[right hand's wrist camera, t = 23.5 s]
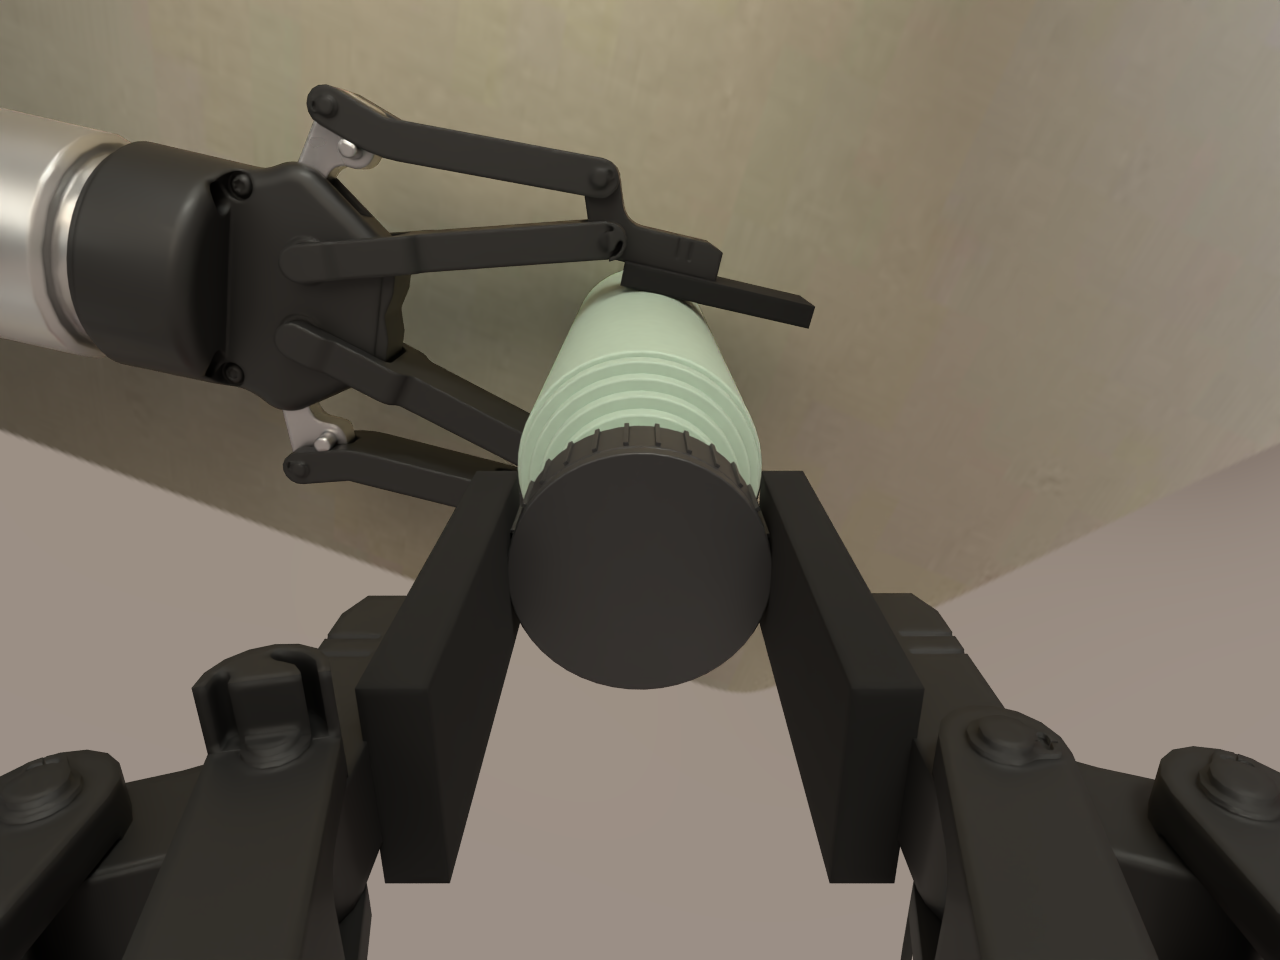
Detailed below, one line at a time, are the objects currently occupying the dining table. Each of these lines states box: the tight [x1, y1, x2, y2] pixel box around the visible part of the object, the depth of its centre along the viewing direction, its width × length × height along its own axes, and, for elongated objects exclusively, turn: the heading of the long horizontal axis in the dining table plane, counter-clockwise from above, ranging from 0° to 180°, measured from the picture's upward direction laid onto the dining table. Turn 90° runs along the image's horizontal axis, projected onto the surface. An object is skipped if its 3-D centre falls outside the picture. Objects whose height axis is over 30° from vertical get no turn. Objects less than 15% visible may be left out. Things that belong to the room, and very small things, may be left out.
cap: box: [508, 423, 772, 689], centre depth 14 cm, size 5×5×2 cm
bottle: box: [518, 271, 762, 499], centre depth 24 cm, size 6×6×22 cm
